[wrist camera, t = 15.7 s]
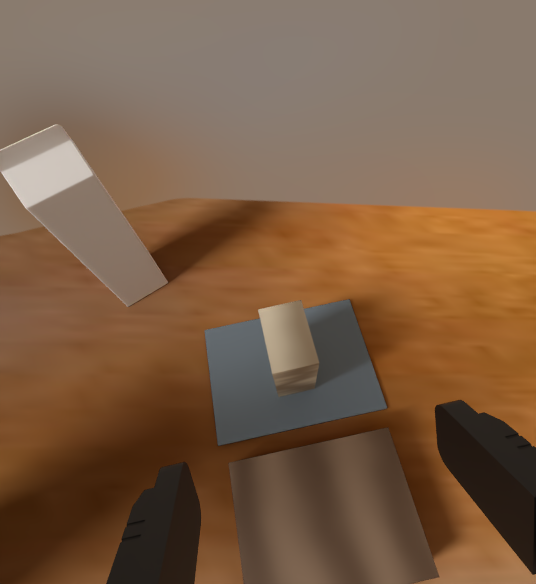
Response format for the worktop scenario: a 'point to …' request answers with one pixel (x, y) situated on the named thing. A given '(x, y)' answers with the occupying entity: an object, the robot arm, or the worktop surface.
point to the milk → (80, 212)
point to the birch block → (289, 348)
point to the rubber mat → (261, 387)
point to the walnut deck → (329, 515)
